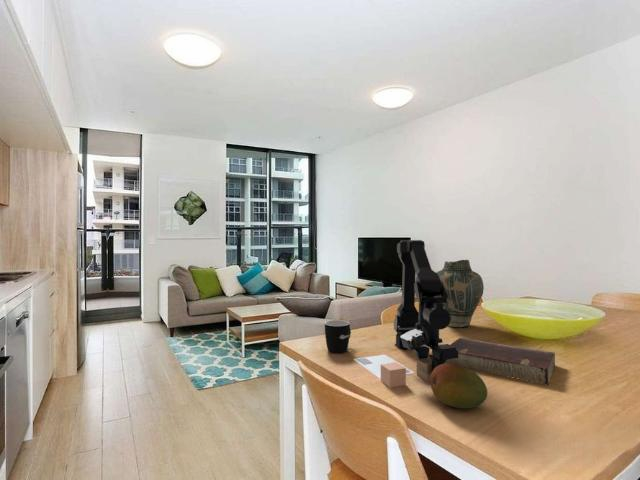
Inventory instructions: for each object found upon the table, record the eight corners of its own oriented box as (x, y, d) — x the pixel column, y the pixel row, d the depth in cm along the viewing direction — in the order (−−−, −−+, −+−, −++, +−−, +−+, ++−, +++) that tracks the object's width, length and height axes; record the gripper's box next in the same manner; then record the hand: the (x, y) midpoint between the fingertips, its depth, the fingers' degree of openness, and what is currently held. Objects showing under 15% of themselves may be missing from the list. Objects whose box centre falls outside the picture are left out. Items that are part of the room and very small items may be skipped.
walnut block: (431, 373, 111) (430, 357, 111) (441, 379, 106) (441, 362, 106) (416, 376, 109) (416, 359, 109) (427, 382, 105) (426, 364, 105)
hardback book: (554, 366, 117) (554, 351, 117) (547, 387, 102) (547, 368, 102) (460, 350, 134) (460, 336, 134) (442, 365, 119) (442, 349, 119)
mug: (339, 356, 127) (339, 327, 127) (319, 351, 133) (319, 323, 132) (359, 348, 136) (359, 320, 136) (340, 343, 142) (340, 317, 141)
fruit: (424, 396, 96) (424, 357, 96) (471, 393, 97) (471, 355, 97) (443, 418, 84) (443, 374, 84) (496, 415, 85) (496, 372, 85)
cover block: (396, 379, 107) (395, 362, 107) (405, 386, 102) (405, 368, 102) (380, 381, 105) (380, 364, 105) (390, 388, 101) (389, 370, 101)
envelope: (384, 355, 128) (384, 354, 128) (415, 373, 111) (415, 372, 111) (353, 359, 124) (353, 358, 124) (379, 379, 107) (379, 378, 107)
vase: (492, 331, 157) (492, 260, 156) (439, 332, 157) (439, 261, 156) (471, 319, 179) (471, 257, 178) (425, 319, 179) (425, 257, 179)
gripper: (387, 316, 114) (388, 366, 114) (424, 331, 96) (425, 391, 96) (418, 313, 118) (419, 362, 118) (459, 327, 100) (459, 384, 100)
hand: (429, 373), depth 108 cm, fingers open, 5 cm apart
